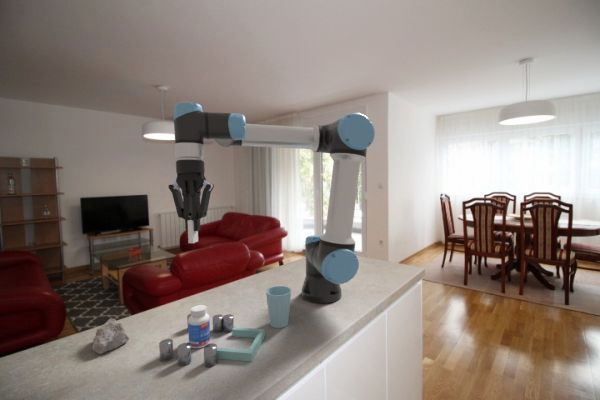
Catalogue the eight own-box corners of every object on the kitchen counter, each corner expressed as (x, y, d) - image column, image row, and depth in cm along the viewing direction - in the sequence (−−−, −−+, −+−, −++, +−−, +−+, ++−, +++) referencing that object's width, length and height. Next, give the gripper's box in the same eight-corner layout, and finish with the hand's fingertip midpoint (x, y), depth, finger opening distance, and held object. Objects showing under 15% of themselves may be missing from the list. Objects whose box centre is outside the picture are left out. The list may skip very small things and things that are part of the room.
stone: (93, 359, 70) (91, 336, 69) (90, 343, 77) (88, 322, 77) (130, 346, 75) (129, 325, 74) (124, 332, 82) (123, 313, 82)
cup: (291, 316, 90) (290, 285, 89) (292, 329, 82) (291, 294, 81) (267, 318, 89) (266, 286, 88) (266, 331, 81) (265, 296, 81)
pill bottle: (203, 350, 72) (201, 313, 72) (184, 348, 73) (183, 312, 73) (214, 338, 78) (212, 304, 77) (196, 336, 79) (195, 303, 78)
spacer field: (241, 328, 83) (241, 315, 83) (212, 369, 65) (212, 352, 65) (192, 324, 86) (191, 311, 85) (150, 363, 67) (149, 347, 67)
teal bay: (264, 336, 78) (264, 329, 78) (251, 361, 67) (251, 353, 67) (233, 333, 80) (233, 327, 80) (216, 358, 69) (215, 350, 69)
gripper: (217, 160, 82) (220, 240, 83) (176, 161, 84) (180, 239, 85) (205, 158, 74) (208, 245, 76) (160, 159, 76) (164, 244, 78)
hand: (193, 242), depth 80 cm, fingers closed
